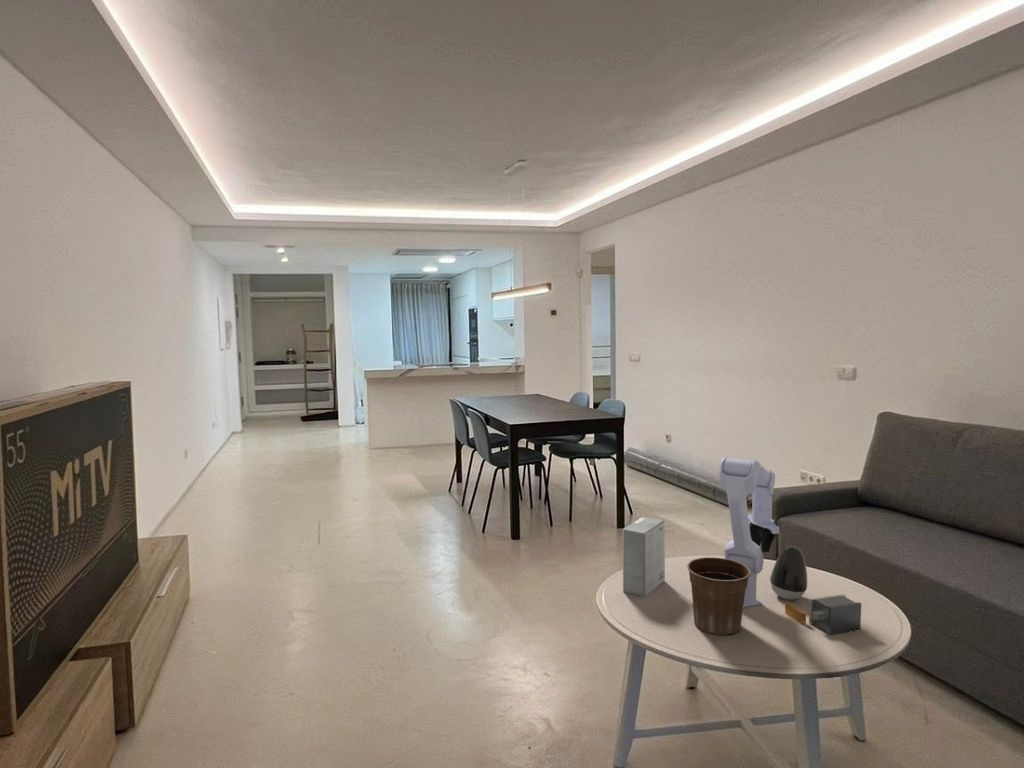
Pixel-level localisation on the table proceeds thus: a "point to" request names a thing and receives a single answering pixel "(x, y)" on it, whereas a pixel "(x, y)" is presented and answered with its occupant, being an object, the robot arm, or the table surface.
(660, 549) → the hard drive box
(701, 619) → the plant pot
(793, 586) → the dark grey egg shape
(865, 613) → the table surface
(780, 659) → the table surface
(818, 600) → the motor
